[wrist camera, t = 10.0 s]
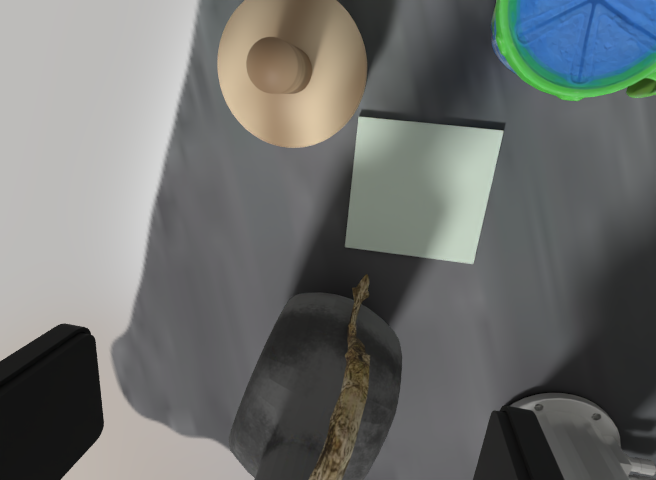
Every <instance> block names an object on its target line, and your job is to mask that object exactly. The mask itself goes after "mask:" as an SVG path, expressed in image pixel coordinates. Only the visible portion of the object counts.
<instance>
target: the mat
mask: <svg viewBox="0 0 656 480" xmlns="http://www.w3.org/2000/svg"><path fill="white" fill-rule="evenodd" d="M503 132H504V131H503V130H495V129H484V128H474V127H464V126H453V125H443V124H433V123H422V122H412V121H402V120H391V119H381V118H371V117H360V116H359V119H358V128H357V138H356V147H355V156H354V166H353V175H352V185H351V194H350V203H349V213H348V222H347V231H346V241H345V247H347V248H355V249H363V250H370V251H378V252H386V253H393V254H401V255H408V256H416V257H424V258H431V259H439V260H447V261H454V262H462V263H469V264H473V263H474V259H475V254H476V250H477V246H478V241H479V237H480V232H481V228H482V224H483V219H484V215H485V210H486V206H487V202H488V197H489V193H490V189H491V184H492V180H493V175H494V171H495V167H496V162H497V158H498V153H499V149H500V145H501V140H502V136H503Z"/></svg>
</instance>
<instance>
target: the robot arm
mask: <svg viewBox="0 0 656 480" xmlns="http://www.w3.org/2000/svg"><path fill="white" fill-rule="evenodd" d="M103 426H104V420H103V411H102V400H101V391H100V381H99V371H98V362H97V352H96V342H95V338H94V336H92V335H91V333H90V331H89V329H88V328H85V327H80V326H75V325H70V324H60V325H58V326H56V327H54V328H53V329H51V330H50V331H48V332H46V333H45V334H43V335H42V336H40V337H38V338H37V339H35V340H34V341H32V342H30V343H29V344H27V345H26V346H24V347H22V348H21V349H19V350H18V351H16V352H15V353H13V354H11V355H10V356H8V357H7V358H5V359H3V360H2V361H0V480H61V478H62V477H63V476H64V475H65V474H66V473H67V472H68V471H69V470H70V469H71V468H72V467H73V465H74V464H75V463H76V462H77V461H78V460H79V459H80V458H81V457H82V456H83V455H84V453H85V452H86V451H87V450H88V449H89V448H90V447H91V446H92V445H93V444H94V443H95V441H96V440H97V439H98V438H99V436H100V435H101V432H102V430H103ZM630 471H634V472H637V473H642V474H647V475H654V474H655V471H656V469H655V465H654V463H653V462H652V461H651V460H648V459H642V458H632V457H628V455H627V454H625V453H624V452H623V451H622V449H621V441H620V435H619V432H618V429H617V427H616V426H615V424H614V423H613V421H612V419H611V418H610V417H609V416H608V414H607V413H606V412H605V411H604V410H603V409H602V408H600V407H599V406H598V405H597V404H595V403H593V402H591V401H589V400H587V399H585V398H582V397H579V396H576V395H572V394H565V393H544V394H536V395H533V396H530V397H526V398H523V399H521V400H519V401H517V402H515V403H513V404H512V405H510V406H506V405H504V406H502V408H501V410H500V411H493V412H492V413H491V416H490V420H489V423H488V427H487V431H486V434H485V438H484V442H483V445H482V449H481V453H480V456H479V460H478V464H477V467H476V471H475V475H474V478H473V480H656V479H655V478H651V477H646V476H640V475H635V474H633V475H629V473H630Z"/></svg>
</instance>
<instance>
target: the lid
mask: <svg viewBox="0 0 656 480" xmlns="http://www.w3.org/2000/svg"><path fill="white" fill-rule="evenodd" d="M218 76H219V81H220V86H221V89H222V93H223V96H224V98H225V100H226V103H227V105H228V106H229V108H230V110H231V112H232V113H233V115H234V116H235V117H236V119H237V120H238V121H239V122H240V123H241V124H242V125H243V126H244V127H245V128H246V129H247V130H248V131H249V132H250V133H252V134H253V135H255V136H256V137H258V138H259V139H261V140H263V141H265V142H268V143H270V144H273V145H277V146H281V147H289V148H298V147H306V146H310V145H314V144H317V143H319V142H322V141H324V140H326V139H328V138H329V137H331V136H332V135H334V134H335V133H337V132H338V131H339V130H340V129H341V128H343V127H344V126H345V125H346V124H347V123H348V121H349V120H350V119H351V117H352V116H353V115H354V113H355V111H356V110H357V108H358V106H359V104H360V102H361V99H362V97H363V93H364V90H365V86H366V80H367V56H366V51H365V46H364V43H363V40H362V37H361V34H360V32H359V30H358V28H357V26H356V24H355V22H354V20H353V19H352V17H351V16H350V14H349V13H348V12H347V11H346V9H345V8H344V7H343V6H342V5H341V4H340V3H339V2H338V1H337V0H245V1H244V2H243V3H242V4H240V5H239V7H238V8H237V9H236V10H235V12H234V13H233V14H232V16H231V17H230V19H229V21H228V22H227V24H226V27H225V29H224V31H223V34H222V37H221V41H220V45H219V51H218Z"/></svg>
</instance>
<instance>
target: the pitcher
mask: <svg viewBox="0 0 656 480" xmlns="http://www.w3.org/2000/svg"><path fill="white" fill-rule="evenodd" d="M368 286H369V278H368V275H367V274H366V275H365V276H364V277H363V278H362V279H361V281H360V283H359V284H358V285H357V287H356V288H352V290H353V297H354V300H352V299H349V298H346V297H343V296H340V295H337V294H329V293H322V292H317V293H302V294H297V295H295V296H294V297H292V298H291V299H290V300H289V301H288V302H287V304H286V305H285V307H284V309H283V310H282V312H281V314H280V316H279V318H278V320H277V322H276V324H275V326H274V328H273V330H272V332H271V334H270V336H269V338H268V340H267V342H266V344H265V346H264V349H263V351H262V353H261V355H260V358H259V360H258V362H257V364H256V367H255V369H254V371H253V374H252V376H251V378H250V381H249V383H248V386H247V388H246V391H245V393H244V396H243V398H242V401H241V404H240V406H239V409H238V411H237V414H236V417H235V420H234V423H233V426H232V429H231V432H230V436H229V445H230V451H231V452H232V453H233V454H234V456H235V457H236V458H237V459H238V460H239V462H240V463H241V464H242V465H243V466H244V468H245V469H246V470H247V471H248V472H249V473H250V474H251V475H252V476H253V477H254V478H255V480H363V479H364V478H365V476H366V475H367V474H368V472H369V470H370V468H371V466H372V465H373V463H374V461H375V459H376V457H377V455H378V454H379V452H380V450H381V447H382V445H383V443H384V441H385V439H386V437H387V434H388V432H389V429H390V427H391V424H392V422H393V419H394V416H395V413H396V408H397V404H398V398H399V392H400V383H401V371H402V353H401V347H400V343H399V339H398V337H397V336H396V334H395V332H394V331H393V330H392V329H391V328H390V327H389V326H388V324H387V323H386V322H385V321H384V320H383V319H382V318H380V317H379V316H378V315H376V314H375V313H374V312H373V311H371V310H370V309H369V308H367V307H365V306H364V305H362V301H364V300H365V299H366V298H368V297H369V292H368Z"/></svg>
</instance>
